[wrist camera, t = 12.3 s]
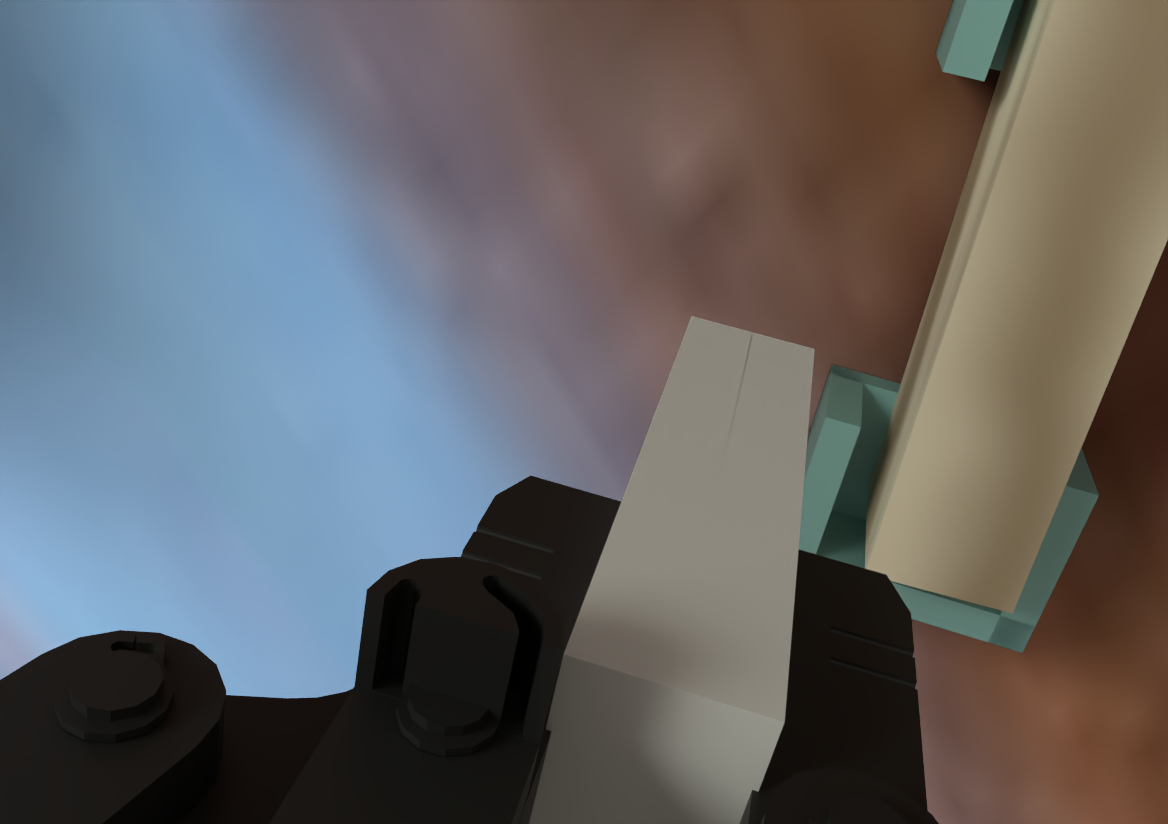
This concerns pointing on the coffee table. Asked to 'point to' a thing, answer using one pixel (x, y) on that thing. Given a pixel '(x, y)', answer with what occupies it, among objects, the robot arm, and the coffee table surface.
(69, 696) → the robot arm
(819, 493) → the cap
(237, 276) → the coffee table surface
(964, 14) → the cap
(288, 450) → the coffee table surface
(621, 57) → the coffee table surface
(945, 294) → the beige long bar
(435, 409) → the coffee table surface
